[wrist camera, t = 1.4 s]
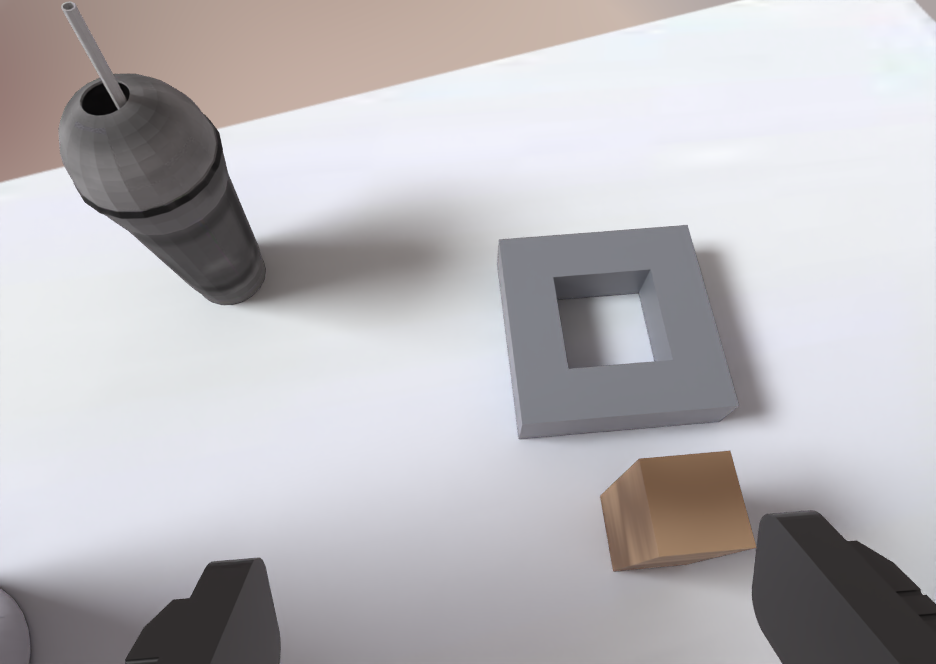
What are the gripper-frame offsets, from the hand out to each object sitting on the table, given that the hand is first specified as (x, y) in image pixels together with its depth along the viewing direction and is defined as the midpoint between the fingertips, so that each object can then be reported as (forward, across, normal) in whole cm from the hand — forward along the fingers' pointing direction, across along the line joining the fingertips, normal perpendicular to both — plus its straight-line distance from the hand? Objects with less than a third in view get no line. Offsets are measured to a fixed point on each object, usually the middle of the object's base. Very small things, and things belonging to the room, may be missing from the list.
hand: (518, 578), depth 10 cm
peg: (+20, +9, -15) cm, 26 cm away
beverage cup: (+33, -15, -2) cm, 36 cm away
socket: (+28, +8, -7) cm, 30 cm away
